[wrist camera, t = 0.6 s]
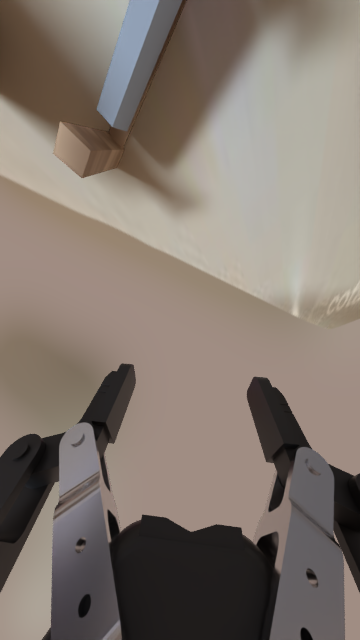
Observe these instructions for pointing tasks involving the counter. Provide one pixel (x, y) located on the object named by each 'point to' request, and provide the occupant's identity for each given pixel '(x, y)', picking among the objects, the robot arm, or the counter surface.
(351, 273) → the counter surface
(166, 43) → the frame
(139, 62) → the door
